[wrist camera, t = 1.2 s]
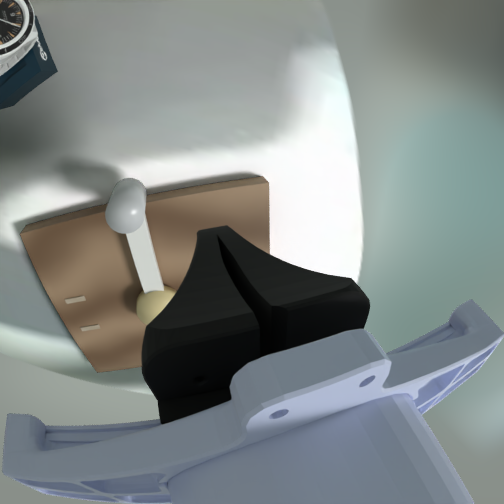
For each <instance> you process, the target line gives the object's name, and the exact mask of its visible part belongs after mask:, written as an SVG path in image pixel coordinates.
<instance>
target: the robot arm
mask: <svg viewBox="0 0 504 504" xmlns="http://www.w3.org/2000/svg"><path fill="white" fill-rule="evenodd" d="M196 234H197V242H196V247H195V251H194V255H193V258H192V261H191V263H190V266H189V269H188V271H187V273H186V276H185V278H184V279H183V281H182V283H181V285H180V287H179V288H178V290H177V292H176V293H175V295H174V296H173V298H172V299H171V300H170V301H169V303H168V304H167V305H166V306H165V308H164V309H163V310H162V311H161V312H160V313H159V314H158V315H157V316H156V317H155V318H154V319H153V320H152V321H151V322H150V323H149V324H148V325H147V326H146V329H145V333H144V337H143V344H142V352H141V362H142V374H143V377H144V380H145V381H146V383H147V385H148V386H149V388H150V389H151V391H152V393H153V394H154V396H155V397H156V399H157V400H158V408H159V416H160V419H156V420H148V421H140V422H130V423H120V424H106V425H87V426H86V425H84V426H45V424H44V423H43V422H42V421H41V420H39V419H38V418H37V417H35V416H32V415H28V414H13V413H9V414H7V421H6V429H5V438H4V449H3V465H2V472H3V474H4V475H6V476H8V477H10V478H12V479H14V480H16V481H18V482H20V483H22V484H24V485H26V486H28V487H30V488H32V489H35V490H37V491H39V492H41V493H44V494H49V495H54V496H61V497H68V498H75V499H83V500H91V501H101V502H114V503H135V504H140V503H141V504H160V503H161V504H162V503H172V504H475V503H474V501H473V499H472V498H471V496H470V494H469V492H468V491H467V489H466V487H465V485H464V483H463V482H462V480H461V478H460V477H459V475H458V473H457V471H456V470H455V468H454V466H453V465H452V463H451V461H450V460H449V458H448V456H447V455H446V453H445V451H444V450H443V448H442V447H441V445H440V443H439V442H438V440H437V438H436V437H435V436H434V434H433V432H432V431H431V429H430V427H429V426H428V424H427V423H426V421H425V420H424V418H423V416H422V414H424V413H425V412H426V411H428V410H429V409H430V408H432V407H433V406H434V405H436V404H437V403H438V402H440V401H441V400H442V399H444V398H445V397H446V396H447V395H449V394H450V393H451V392H452V391H454V390H455V389H456V388H457V387H459V386H460V385H461V384H462V383H464V382H465V381H466V380H467V379H468V378H469V377H471V376H472V375H473V374H474V373H476V372H477V371H478V370H479V369H480V368H481V366H482V365H483V364H484V363H485V361H486V360H487V359H488V357H489V356H490V355H491V353H492V352H493V351H494V349H495V348H496V347H497V345H498V344H499V342H500V341H501V340H502V338H503V337H504V332H503V331H502V330H501V329H500V328H499V327H498V326H497V325H496V324H495V323H494V322H493V320H492V319H491V318H490V317H489V316H488V315H487V314H486V313H485V312H484V311H483V310H482V309H481V308H480V307H479V306H478V305H477V304H476V303H475V302H474V301H473V300H472V299H470V300H468V301H466V302H465V303H463V304H461V305H459V306H458V307H457V308H456V309H455V310H454V311H453V313H452V314H451V316H450V318H449V322H447V323H445V324H443V325H442V326H440V327H438V328H436V329H434V330H432V331H430V332H429V333H427V334H425V335H423V336H421V337H419V338H417V339H415V340H413V341H411V342H409V343H407V344H405V345H403V346H401V347H399V348H397V349H394V350H392V351H390V352H388V353H385V352H384V350H383V349H382V348H381V347H380V345H379V343H378V342H377V341H376V339H375V338H374V336H373V335H372V334H371V333H369V332H368V331H367V330H365V329H364V326H365V323H366V320H367V317H368V314H369V309H370V302H369V299H368V298H367V296H366V295H365V293H364V292H363V291H362V290H361V288H360V287H359V286H358V285H357V284H356V283H355V282H354V281H353V280H352V279H351V278H346V277H340V276H333V275H327V274H323V273H319V272H314V271H311V270H307V269H304V268H301V267H298V266H295V265H292V264H290V263H287V262H285V261H282V260H280V259H278V258H276V257H274V256H272V255H270V254H268V253H266V252H265V251H263V250H261V249H259V248H258V247H256V246H255V245H253V244H252V243H250V242H249V241H247V240H246V239H244V238H243V237H242V236H241V235H239V234H238V233H237V232H235V231H234V230H233V229H232V228H230V227H229V226H228V225H225V226H219V227H214V228H208V229H203V230H198V232H197V233H196Z"/></svg>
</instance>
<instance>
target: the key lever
mask: <svg viewBox="0 0 504 504" xmlns="http://www.w3.org/2000/svg"><path fill="white" fill-rule="evenodd" d="M146 197H147V192H146V188H145V186H144V185H143V184H142V183H141V182H140V181H139V180H137V179H134V178H126V179H123V180H121V181H120V182H118V183H117V184H116V186H115V188H114V190H113V192H112V195H111V197H110V200H109V202H108V205H107V208H106V211H105V218H106V222H107V224H108V225H109V226H110V228H111V229H113V230H114V231H116V232H118V233H123V234H126V236H127V239H128V243H129V246H130V249H131V253H132V256H133V259H134V263H135V266H136V269H137V272H138V275H139V278H140V281H141V284H142V287H143V291H142V292H141V293H140V294H139V296H138V298H137V315H138V317H139V319H140V320H141V321H142V322H143V323H144V324H146V325H148V324H149V323H150V322H151V321H152V320H153V319H154V318H155V317H156V316H157V315H158V314H159V313H160V312H161V311H162V310H163V309H164V308H165V306H166V305H167V304H168V303H169V301H170V300H171V299H172V298H173V296H174V295H175V293H176V292H177V291H176V290H174V289H173V288H171V287H168V286H164V285H163V282H162V278H161V275H160V271H159V267H158V263H157V260H156V256H155V252H154V248H153V244H152V240H151V236H150V232H149V228H148V223H147V219H146V215H145V206H146Z"/></svg>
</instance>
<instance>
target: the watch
mask: <svg viewBox="0 0 504 504" xmlns="http://www.w3.org/2000/svg"><path fill="white" fill-rule="evenodd" d="M56 72H58V71H57V69H56V66H55V64H54V61H53V59H52V57H51V54H50V51H49V49H48V46H47V44H46V41H45V38H44V36H43V33H42V30H41V27H40V25H39V22H38V19H37V16H35V15H34V10H33V7H32V5H31V3H30V1H29V0H0V109H3V108H7V107H10V106H13V105H15V104H16V103H17V102H18V101H19V100H20V99H22V98H23V97H24V96H25V95H27V94H28V93H29V92H30V91H32V90H33V89H34V88H36V87H37V86H38V85H39V84H41V83H42V82H44V81H45V80H46V79H48V78H49V77H50V76H52V75H53V74H55V73H56Z"/></svg>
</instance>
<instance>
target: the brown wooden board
mask: <svg viewBox="0 0 504 504" xmlns="http://www.w3.org/2000/svg"><path fill="white" fill-rule="evenodd" d="M107 205H108V204H104V205H100V206H96V207H91V208H87V209H83V210H79V211H75V212H72V213H68V214H64V215H60V216H57V217H53V218H49V219H46V220H42V221H39V222H35V223H32V224H29V225H26V226H25V228H24V229H23V230H22V232H21V233H20V236H21V238H22V241H23V243H24V245H25V248H26V250H27V252H28V255H29V257H30V259H31V261H32V263H33V266H34V268H35V270H36V272H37V274H38V276H39V278H40V280H41V282H42V284H43V286H44V288H45V290H46V292H47V294H48V295H49V297H50V299H51V301H52V303H53V305H54V306H55V308H56V310H57V312H58V313H59V315H60V317H61V319H62V320H63V322H64V324H65V325H66V327H67V328H68V330H69V332H70V333H71V335H72V336H73V338H74V340H75V341H76V343H77V344H78V346H79V347H80V349H81V350H82V352H83V353H84V355H85V356H86V357H87V359H88V360H89V362H90V363H91V365H92V366H93V367H94V369H95V370H96V371H97V373H98V372H107V371H115V370H122V369H130V368H136V367H142V362H141V352H142V344H143V337H144V333H145V329H146V326H147V325H146V324H144V323H143V322H142V321H141V320H140V319H139V317H138V315H137V298H138V296H139V294H140V293H141V292H142V291H143V287H142V284H141V281H140V278H139V275H138V272H137V269H136V266H135V263H134V259H133V256H132V253H131V249H130V246H129V243H128V239H127V236H126V234H123V233H118V232H116V231H114V230H113V229H111V228H110V226H109V225H108V224H107V222H106V218H105V211H106V208H107ZM145 215H146V219H147V223H148V228H149V232H150V236H151V240H152V244H153V248H154V252H155V256H156V260H157V263H158V267H159V271H160V275H161V278H162V282H163V285H164V286H168V287H171V288H173V289H174V290H176V291H177V290H178V288H179V287H180V285H181V283H182V281H183V279H184V278H185V276H186V273H187V271H188V269H189V266H190V263H191V261H192V258H193V255H194V251H195V247H196V242H197V234H196V233H197V232H198V230H203V229H208V228H214V227H219V226H225V225H228V226H229V227H230V228H232V229H233V230H234V231H235V232H237V233H238V234H239V235H241V236H242V237H243V238H244V239H246V240H247V241H249V242H250V243H252V244H253V245H255V246H256V247H258V248H259V249H261V250H263V251H265V252H266V253H268V254H270V238H269V182H268V181H267V180H266V179H265V178H264V177H263V176H262V177H254V178H247V179H239V180H232V181H225V182H219V183H212V184H206V185H200V186H194V187H188V188H182V189H177V190H171V191H166V192H161V193H155V194H150V195H147V197H146V206H145Z"/></svg>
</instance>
